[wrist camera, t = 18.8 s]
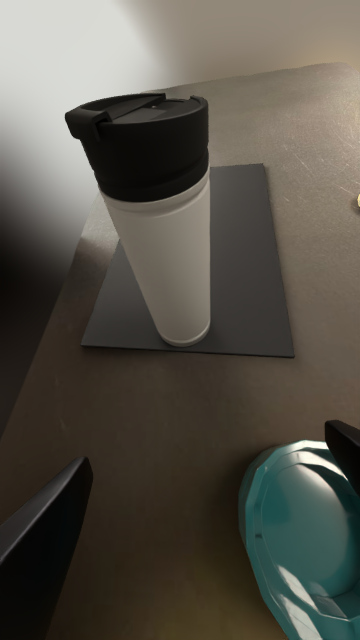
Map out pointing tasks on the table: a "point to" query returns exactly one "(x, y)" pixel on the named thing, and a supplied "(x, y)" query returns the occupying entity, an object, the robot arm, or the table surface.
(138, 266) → the travel mug
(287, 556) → the bowl
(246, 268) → the mat
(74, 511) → the robot arm
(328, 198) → the table surface
